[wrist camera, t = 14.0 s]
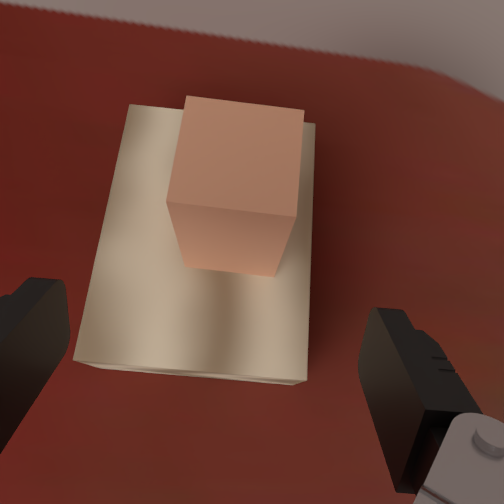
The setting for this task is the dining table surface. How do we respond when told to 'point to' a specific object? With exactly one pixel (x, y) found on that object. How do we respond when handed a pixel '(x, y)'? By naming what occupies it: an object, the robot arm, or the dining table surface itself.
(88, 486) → the dining table surface
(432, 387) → the robot arm
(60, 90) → the dining table surface
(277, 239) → the terracotta block
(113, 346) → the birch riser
